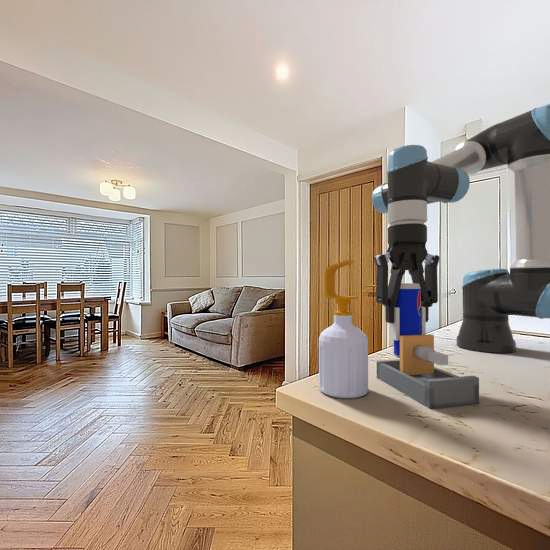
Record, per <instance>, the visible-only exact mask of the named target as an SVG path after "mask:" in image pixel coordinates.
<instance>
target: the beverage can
mask: <svg viewBox="0 0 550 550" xmlns="http://www.w3.org/2000/svg"><path fill="white" fill-rule="evenodd" d="M395 307H398V308H400V336H402V335H421V288H420V284H415V283H413V282H412V283H411V282H410V283H405V282H401V286H400V290H399V294H398V298H397V302H396V306H395ZM393 354H394V356H395V357H396V358H398V359H400V340H398V341H396V340H393Z"/></svg>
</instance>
